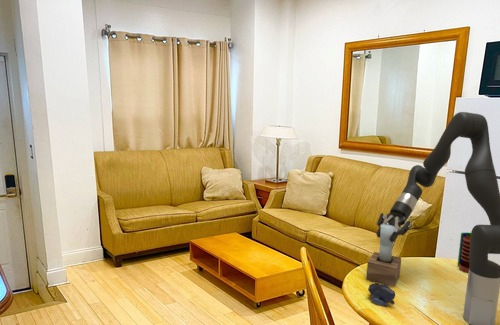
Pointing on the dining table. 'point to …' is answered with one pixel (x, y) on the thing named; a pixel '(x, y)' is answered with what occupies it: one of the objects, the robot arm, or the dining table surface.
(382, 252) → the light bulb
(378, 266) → the housing
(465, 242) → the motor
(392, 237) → the robot arm
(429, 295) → the dining table surface
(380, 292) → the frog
